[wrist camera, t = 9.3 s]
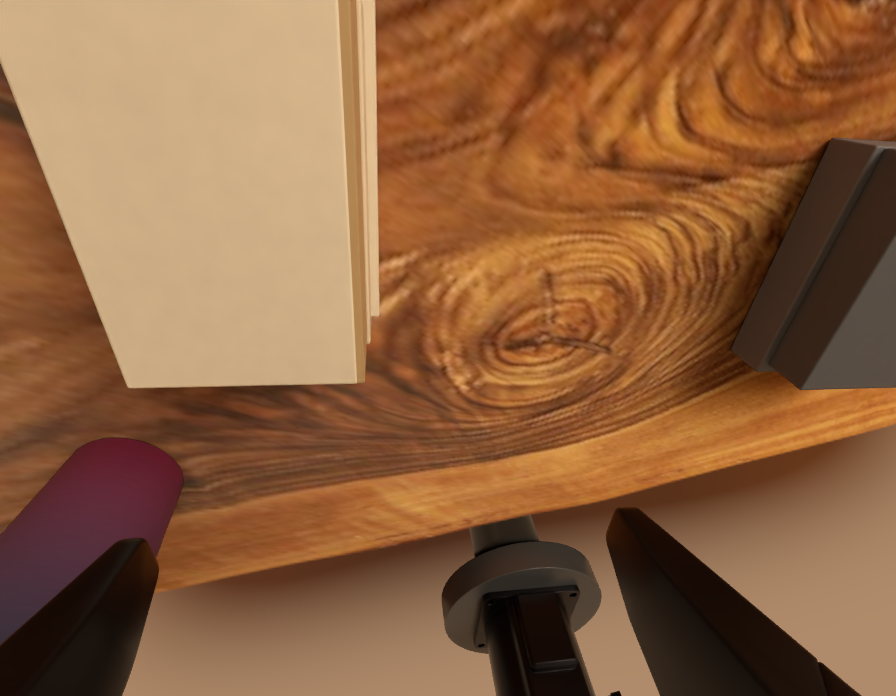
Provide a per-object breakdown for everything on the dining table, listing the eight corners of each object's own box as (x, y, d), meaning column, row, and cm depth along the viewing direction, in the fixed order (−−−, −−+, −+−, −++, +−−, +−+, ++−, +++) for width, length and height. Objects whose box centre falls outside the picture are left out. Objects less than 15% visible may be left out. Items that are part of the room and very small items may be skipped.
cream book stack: (379, 294, 19) (379, 344, 16) (201, 293, 18) (161, 346, 15) (375, -5, 14) (373, -25, 10) (123, -31, 13) (31, -62, 9)
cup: (15, 436, 20) (-561, 1032, 8) (168, 412, 21) (-152, 946, 8) (95, 527, 24) (-212, 1030, 12) (223, 506, 25) (60, 972, 12)
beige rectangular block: (367, 331, 15) (364, 384, 13) (170, 332, 14) (126, 389, 12) (356, -1, 11) (349, -22, 8) (61, -31, 10) (-52, -63, 7)
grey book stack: (854, 348, 24) (930, 395, 21) (729, 350, 23) (788, 399, 20) (985, 147, 19) (1115, 166, 16) (830, 137, 18) (934, 155, 14)
